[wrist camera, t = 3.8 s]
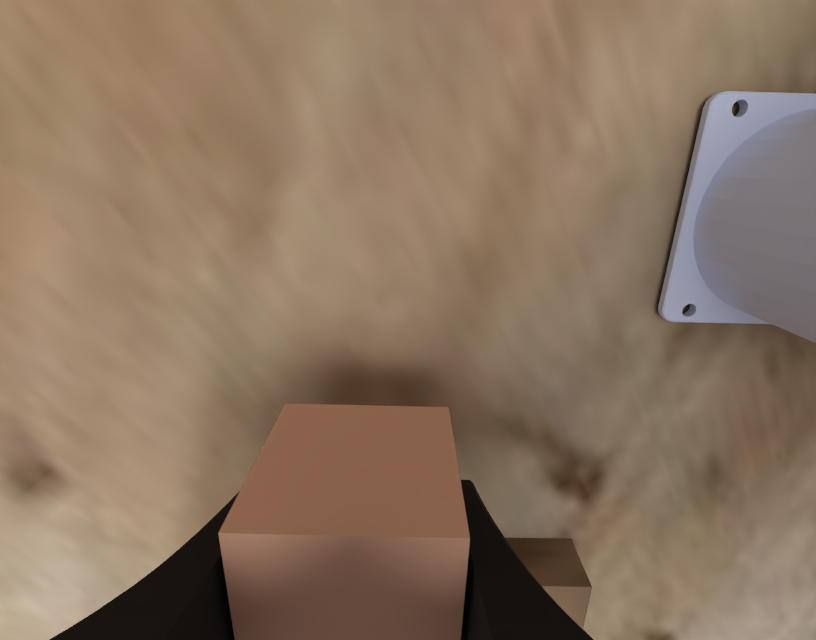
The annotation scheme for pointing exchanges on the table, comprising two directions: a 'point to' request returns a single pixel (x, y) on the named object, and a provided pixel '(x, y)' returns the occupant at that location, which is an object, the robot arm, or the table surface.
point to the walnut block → (556, 572)
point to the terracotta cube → (350, 528)
